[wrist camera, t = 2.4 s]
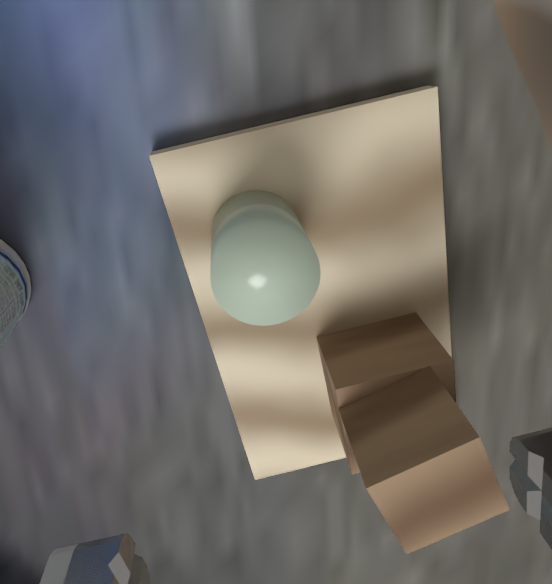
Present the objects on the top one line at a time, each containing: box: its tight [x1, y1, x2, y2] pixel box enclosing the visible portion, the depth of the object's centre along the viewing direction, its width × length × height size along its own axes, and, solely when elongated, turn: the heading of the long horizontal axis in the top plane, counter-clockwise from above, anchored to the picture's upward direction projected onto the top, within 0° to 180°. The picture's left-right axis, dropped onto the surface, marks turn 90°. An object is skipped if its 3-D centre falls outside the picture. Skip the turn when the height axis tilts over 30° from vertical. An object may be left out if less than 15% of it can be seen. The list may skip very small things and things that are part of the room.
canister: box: [210, 190, 321, 326], centre depth 22 cm, size 5×5×6 cm
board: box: [149, 85, 452, 480], centre depth 28 cm, size 22×14×1 cm, turn 12°
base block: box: [316, 312, 456, 475], centre depth 27 cm, size 6×6×5 cm
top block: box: [338, 365, 509, 554], centre depth 23 cm, size 5×5×5 cm
